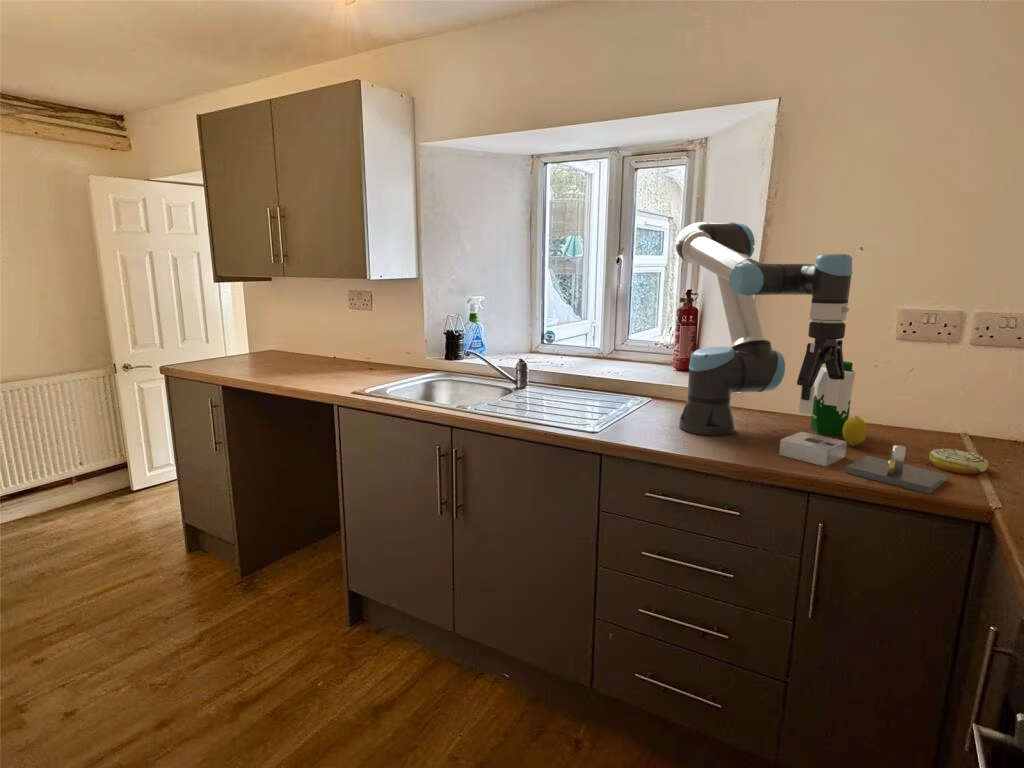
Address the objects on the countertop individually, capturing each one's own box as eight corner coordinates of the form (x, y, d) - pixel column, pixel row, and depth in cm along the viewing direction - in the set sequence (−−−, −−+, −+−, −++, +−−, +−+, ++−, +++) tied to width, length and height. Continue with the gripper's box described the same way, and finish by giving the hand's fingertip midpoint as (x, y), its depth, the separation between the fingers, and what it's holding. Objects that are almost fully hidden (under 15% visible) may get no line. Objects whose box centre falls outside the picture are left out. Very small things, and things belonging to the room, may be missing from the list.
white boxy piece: (779, 454, 140) (780, 439, 140) (799, 446, 147) (801, 431, 146) (825, 466, 132) (827, 450, 131) (844, 457, 139) (846, 441, 138)
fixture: (845, 472, 128) (849, 443, 127) (866, 461, 136) (869, 433, 134) (929, 494, 116) (934, 461, 115) (946, 480, 123) (951, 450, 122)
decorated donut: (995, 479, 125) (998, 463, 124) (938, 473, 128) (940, 457, 128) (974, 463, 135) (977, 448, 134) (922, 458, 138) (924, 444, 137)
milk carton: (850, 436, 156) (859, 365, 152) (815, 434, 158) (823, 364, 154) (839, 427, 164) (847, 360, 160) (805, 426, 166) (813, 359, 162)
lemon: (842, 441, 152) (846, 412, 150) (866, 445, 148) (870, 415, 146) (838, 446, 147) (842, 416, 146) (863, 450, 144) (867, 420, 142)
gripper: (821, 325, 122) (811, 420, 126) (865, 319, 138) (855, 404, 142) (786, 323, 128) (778, 413, 132) (833, 317, 143) (824, 399, 147)
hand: (818, 409), depth 137 cm, fingers open, 13 cm apart
